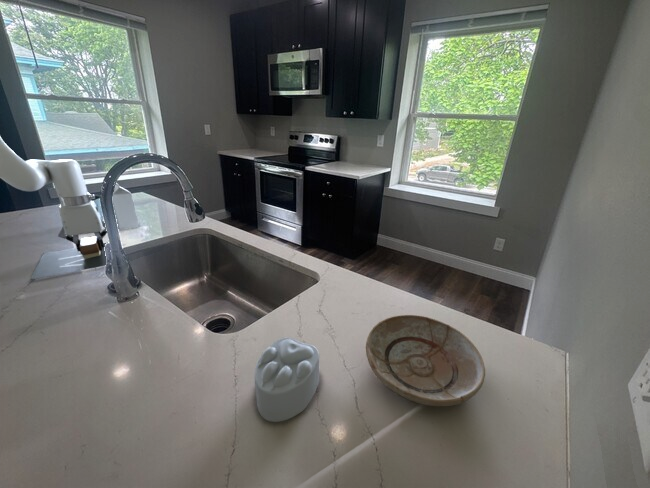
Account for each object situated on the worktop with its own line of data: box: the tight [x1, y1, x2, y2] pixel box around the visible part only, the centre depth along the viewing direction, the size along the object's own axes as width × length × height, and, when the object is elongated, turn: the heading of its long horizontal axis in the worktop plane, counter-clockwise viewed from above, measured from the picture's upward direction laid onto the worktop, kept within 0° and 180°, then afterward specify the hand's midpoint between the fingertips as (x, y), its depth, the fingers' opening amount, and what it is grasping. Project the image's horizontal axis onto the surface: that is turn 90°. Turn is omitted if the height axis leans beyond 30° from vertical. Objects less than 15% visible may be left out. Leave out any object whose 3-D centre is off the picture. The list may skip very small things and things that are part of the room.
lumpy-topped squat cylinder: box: [254, 336, 320, 423], centre depth 55 cm, size 10×13×9 cm
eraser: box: [79, 235, 101, 258], centre depth 102 cm, size 8×4×4 cm, turn 32°
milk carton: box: [113, 182, 140, 231], centre depth 124 cm, size 7×7×19 cm
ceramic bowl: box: [365, 314, 486, 407], centre depth 62 cm, size 23×24×5 cm
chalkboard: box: [30, 242, 107, 281], centre depth 100 cm, size 20×20×1 cm
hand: (92, 250), depth 103 cm, fingers closed on eraser, 4 cm apart
